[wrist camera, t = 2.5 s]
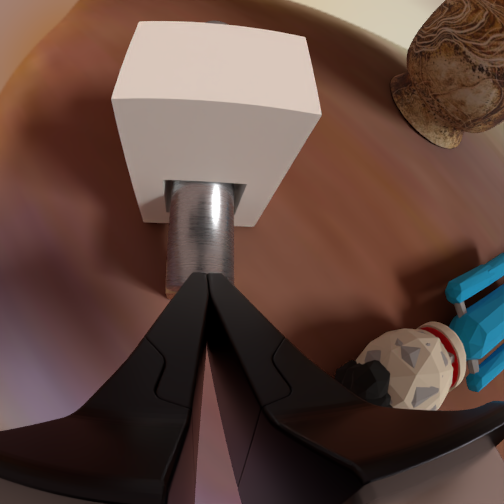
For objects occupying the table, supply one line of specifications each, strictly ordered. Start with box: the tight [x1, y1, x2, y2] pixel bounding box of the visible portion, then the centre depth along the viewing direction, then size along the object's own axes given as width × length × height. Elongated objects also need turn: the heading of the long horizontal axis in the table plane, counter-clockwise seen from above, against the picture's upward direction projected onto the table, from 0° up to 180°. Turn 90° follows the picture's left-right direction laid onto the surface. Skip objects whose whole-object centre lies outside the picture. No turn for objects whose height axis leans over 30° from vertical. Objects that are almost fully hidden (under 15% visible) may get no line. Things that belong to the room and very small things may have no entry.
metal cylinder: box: [166, 21, 234, 299], centre depth 16 cm, size 16×3×5 cm, turn 1°
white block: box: [111, 21, 322, 227], centre depth 13 cm, size 4×6×10 cm, turn 91°
